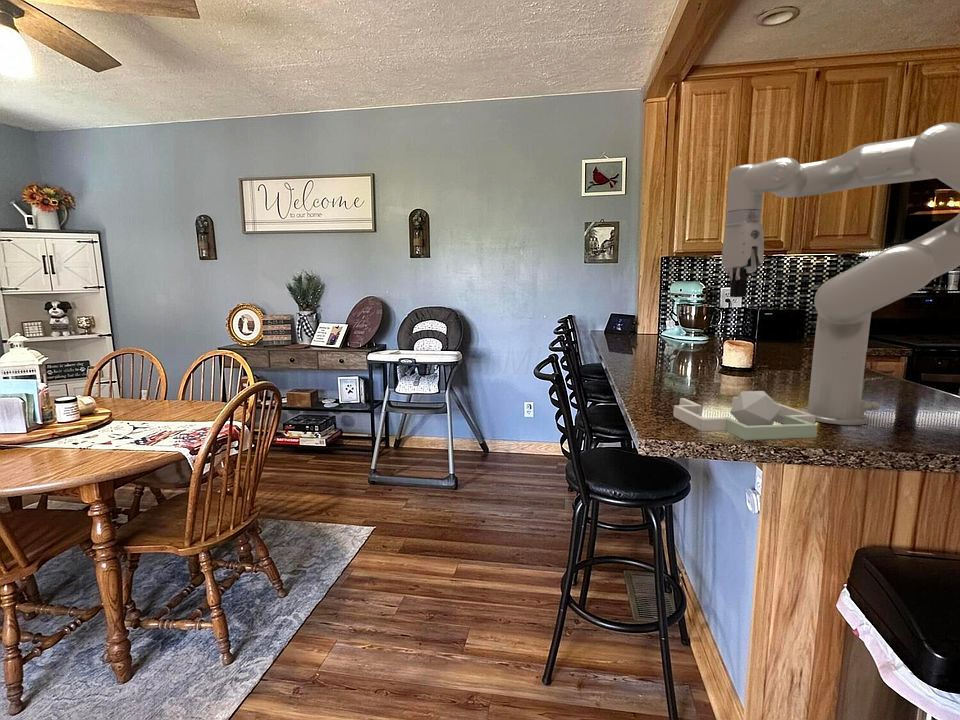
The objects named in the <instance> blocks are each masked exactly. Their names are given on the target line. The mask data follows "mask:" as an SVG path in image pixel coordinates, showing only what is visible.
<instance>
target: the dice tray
mask: <svg viewBox="0 0 960 720" xmlns="http://www.w3.org/2000/svg"><path fill="white" fill-rule="evenodd" d="M737 398H738V396H732V405H731V406H732V407H733V405H734V403H735V402H736V400H737ZM776 403H777V404H778V405H779V406H780V407H781V408H782V409H781V411H780V412H779V414H778V416H777V418H776V420H775V421H774V423H775V422H776V423H778V424H773V425H758V426H747V425H745V424H742V423H740V422H738V420H737V419H734V418H732V417H729V416H727V417H726V416H725V417H724V416H723V417H704V416H702V415H703V414H702V413H703V405H701V404H699V403H696V402H695V401H692V400H690V399H687V398H684V397H681V398H679V404H678V405H675V404H674V405H673V418H675V419H678V420H679V421H681V422H683V423H685V424H687V425H689V426H690V427H692V428H694V429H696V430H698V431H700V432H720V431H723V432H725V431H726V432H727V433H730V434H732V435H733V436H736V437H737V438H739V439H742V440H744V441H755V440H756V441H759V440H761V441H762V440H783V439H809V438H810V439H811V438H812V439H813V438H814V439H815V438H817V434H818V424H816V421H815V417H816V416H814V415H812V414H809V413H806V412H803V411H800V409H797V408H793V407H790V406H788V405H784V404H782V403H779V402H776Z"/></svg>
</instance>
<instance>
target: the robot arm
mask: <svg viewBox="0 0 960 720" xmlns="http://www.w3.org/2000/svg"><path fill="white" fill-rule="evenodd" d="M932 179H937V180H939V181H941V182H942V183H944V184H945V185H946V186H949V187H950V188H951V189H953V190H954V191H956V192H957V193H959V194H960V123H958V122H951V121H950V122H941V123H938V124H934V125H933V126H931V127H928V128H927V129H925V130H924V131H922V132H921V133H920V134H919V135H918V134H917V135H914V136H908V137H902V138H901V137H900V138H896V139H895V138H894V139H888V140H882V141H876V142H869V143H864V144H861V145H858V146H856V147H854V148H852V149H851V150H849V151H846V152H845V153H843V154H841V155H838V156H836V157H833V158H828V159H825V160H820V161H819V160H818V161H812V162H806V163H799V161H797V159H796V158H792V157H787V156H786V157H785V156H784V157H783V156H782V157H778V158H777V157H776V158H774V159H769V160H767V161H766V160H765V161H763V162H759V163H747V164H741V165H737V166H735V167H733V168H732V169H731V170H730V171H729V174H728V185H727V201H726V215H725V216H726V217H725V231H724V235H723V241H722V242H723V243H722V250H721V265H722V267H723V268H724V273H726V274H727V275H729V281H730V287H729V289H730V290H729V297H730V298H746V297H747V287H748V281H749V279H750V275H751V274H752V273H755V272H756V271H757V268H758V267H761V266H762V265H763V264H764V257H765V256H764V251H765V249H764V248H765V241H764V240H765V239H764V238H765V237H764V236H765V235H764V234H765V233H764V228H763V223H762V218H763V217H762V214H763V203H764V202H763V200H764V198H763V197H764V193H770V194H773V195H775V196H776V197H779V198H783V199H789V198H798V197H799V198H800V197H808V196H816V195H818V196H819V195H823V194H824V195H825V194H830V193H831V194H832V193H836V192H842V191H850V190H853V189H859V188H865V187H873V186H881V185H890V184H898V183H899V184H900V183H907V182H908V183H909V182H915V181H916V182H917V181H924V180H925V181H926V180H932ZM958 267H960V212H958V214H957V215H956V216H954V217H953V218H952V219H950V220H948V221H946V222H944V223H943V224H941V225H939V226H937V227H934V228H933V229H931V230H930V231H928V232H927V233H924V234H923V235H921V236H919V237H917V238H915V239H913V240H911V241H909V242H906V243H903V244H902V243H901V244H895V245H893V246H891V247H888V248H886V249H884V250H882V251H880V252H878V253H877V254H874V255H872V256H871V257H869V258H867V259H865V260H864V261H861V262H860V263H858V264H856V265H854V266H852V267H850V268H849V269H847V270H845V271H843V272H840V273H839V274H837V275H835V276H833V277H832V278H830V279H828V280H827V281H824V283H822V284H821V285H820V286H819V288H818V289H817V290H816V293H815V296H814V301H813V303H814V308H815V310H816V312H817V316H816V317H817V318H816V326H815V335H814V336H815V337H814V342H813V351H812V364H811V373H810V384H809V394H808V395H809V396H808V403H807V405H808V406H806V407H801V408H799V410H800V411H803V412H806V413H809V414H812V415H814V416H816V417H815V422H819V423H826V424H831V425H832V424H833V425H842V426H843V425H844V426H859V425H860V426H862V425H865V424H867V423H868V422H869V421H868V420H869V417H868V416H867V415H866V414H865V412H868V411H878V410H880V409H881V408H880V407H881V405H880V403H879V402H878V401H866V400H865V399H862V394H863V387H864V386H863V385H864V377H865V368H866V367H865V366H866V358H867V352H868V343H869V337H870V326H871V318H872V313H873V312H875V311H878V310H880V309H881V308H883V307H886V306H888V305H890V304H892V303H894V302H896V301H899V300H900V299H902V298H905V297H907V296H909V295H911V294H913V293H915V292H918V291H919V290H921V289H922V288H924V287H925V286H927V285H928V284H929V283H930V282H931V281H932V280H935V279H936V278H938V277H940V276H942V275H944V274H947V273H948V272H950V271H952V270H954V269H956V268H958Z"/></svg>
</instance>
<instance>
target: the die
mask: <svg viewBox="0 0 960 720" xmlns="http://www.w3.org/2000/svg"><path fill="white" fill-rule="evenodd" d="M737 397H738V398H737V400H736V402H735V403H734V405H733V407H732V408H731V409H730V411H729V413H730V414H731V415H732V416H733V417H734V419H735V420H736V421H738V422H740V423H742V424H745V425H747V426H758V425H774V423H775V420H776V418H777V416H778V414H779V412H780V411H781V409H782V408H781V407H780V406H779V405H778V404H777V403H778V402H776V401H774V399H772V397H771V396H770V395H769V394H767V392H766V391H764V390H748V391H746V390H745V391H740V392H739V394H738V396H737Z"/></svg>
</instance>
